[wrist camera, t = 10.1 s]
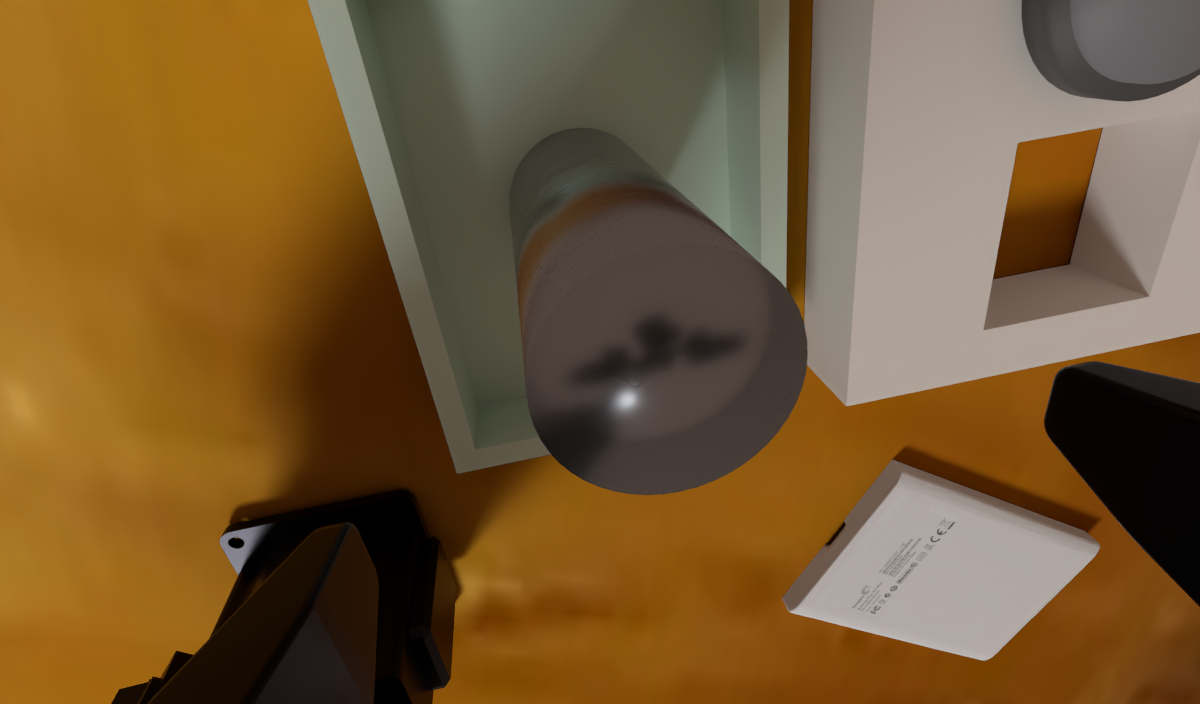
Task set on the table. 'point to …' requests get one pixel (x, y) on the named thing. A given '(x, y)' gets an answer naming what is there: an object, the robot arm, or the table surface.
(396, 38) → the tray
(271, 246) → the table surface
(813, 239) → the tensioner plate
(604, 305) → the pin
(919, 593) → the external hard drive
